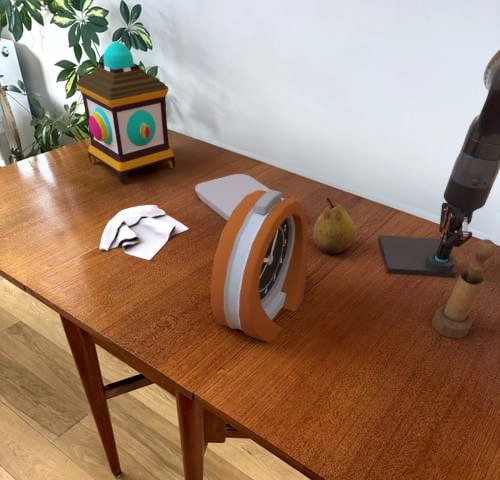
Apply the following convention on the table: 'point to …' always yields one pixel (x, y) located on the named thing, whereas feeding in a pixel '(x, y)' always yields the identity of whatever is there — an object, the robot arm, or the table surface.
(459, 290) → the mortar and pestle
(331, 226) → the fruit
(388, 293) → the table surface
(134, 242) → the cloth
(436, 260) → the button
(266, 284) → the alarm clock
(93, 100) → the decorative lantern
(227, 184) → the tablet
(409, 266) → the kitchen scale
